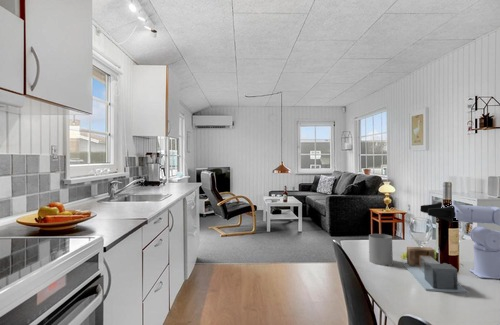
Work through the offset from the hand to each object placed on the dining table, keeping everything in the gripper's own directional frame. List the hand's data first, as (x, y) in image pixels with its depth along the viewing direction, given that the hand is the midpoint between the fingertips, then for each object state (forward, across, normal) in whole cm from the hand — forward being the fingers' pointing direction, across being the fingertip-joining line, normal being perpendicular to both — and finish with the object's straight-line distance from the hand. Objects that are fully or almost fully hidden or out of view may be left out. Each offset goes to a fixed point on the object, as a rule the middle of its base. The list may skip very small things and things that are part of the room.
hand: (424, 210), depth 111 cm
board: (-2, +5, +22) cm, 22 cm away
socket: (-2, -6, +22) cm, 22 cm away
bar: (-2, +7, +21) cm, 22 cm away
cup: (+11, -10, +23) cm, 27 cm away
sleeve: (-2, +13, +21) cm, 25 cm away
